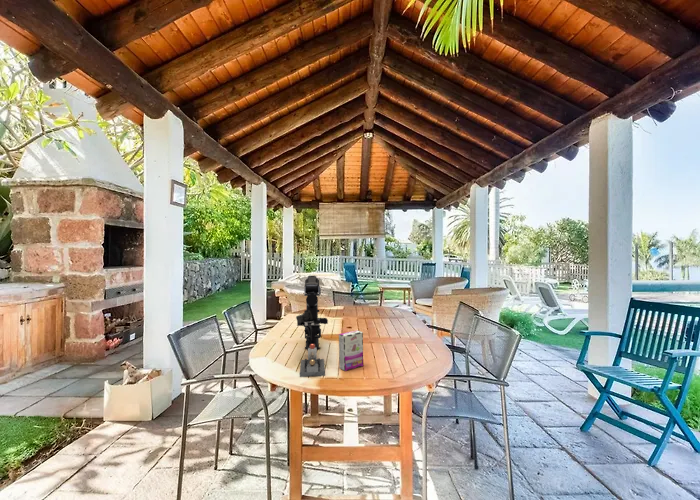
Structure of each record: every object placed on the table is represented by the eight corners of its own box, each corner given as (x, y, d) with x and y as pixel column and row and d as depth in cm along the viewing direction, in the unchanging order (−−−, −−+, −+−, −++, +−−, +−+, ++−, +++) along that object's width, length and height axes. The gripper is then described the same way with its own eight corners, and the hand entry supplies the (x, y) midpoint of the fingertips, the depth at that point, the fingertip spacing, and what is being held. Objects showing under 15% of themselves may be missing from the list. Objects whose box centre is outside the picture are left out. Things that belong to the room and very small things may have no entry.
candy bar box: (357, 363, 166) (357, 329, 166) (363, 366, 162) (363, 332, 162) (338, 368, 160) (338, 333, 160) (344, 371, 156) (344, 335, 156)
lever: (308, 361, 158) (307, 342, 158) (316, 361, 159) (316, 342, 159) (308, 363, 156) (307, 344, 156) (316, 363, 156) (316, 344, 156)
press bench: (301, 363, 166) (301, 349, 166) (323, 362, 167) (323, 348, 167) (299, 377, 149) (299, 361, 149) (324, 376, 151) (324, 360, 150)
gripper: (288, 309, 175) (288, 340, 170) (309, 305, 161) (309, 339, 157) (306, 310, 182) (306, 340, 178) (328, 306, 168) (328, 339, 164)
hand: (312, 339), depth 169 cm, fingers closed
